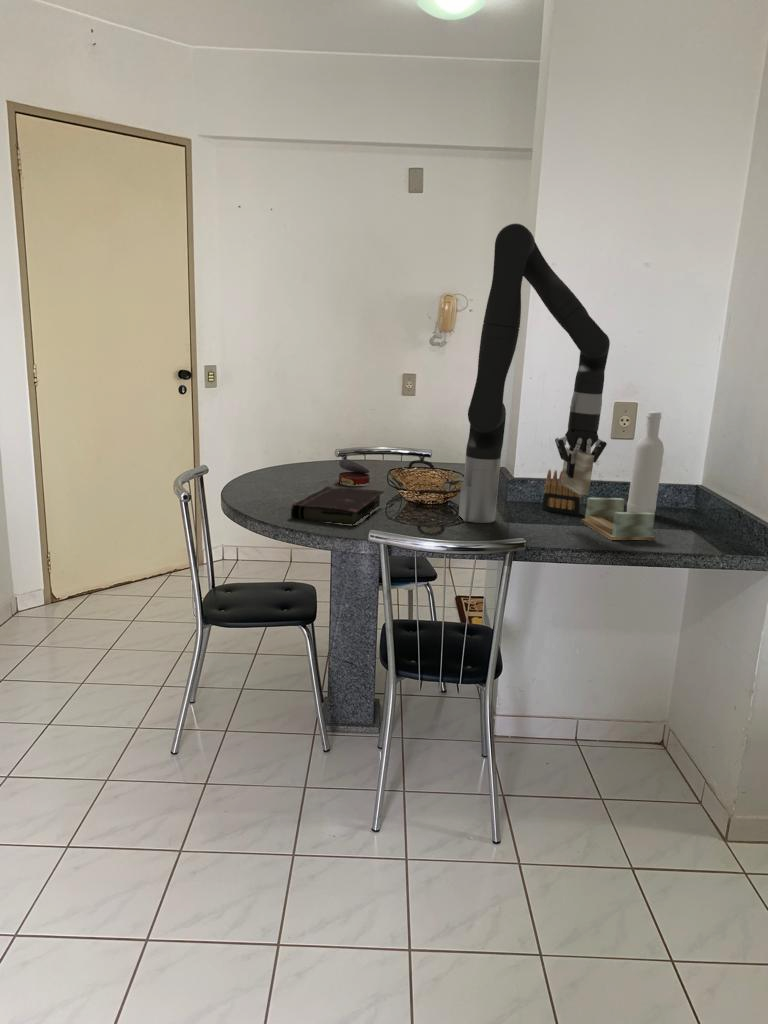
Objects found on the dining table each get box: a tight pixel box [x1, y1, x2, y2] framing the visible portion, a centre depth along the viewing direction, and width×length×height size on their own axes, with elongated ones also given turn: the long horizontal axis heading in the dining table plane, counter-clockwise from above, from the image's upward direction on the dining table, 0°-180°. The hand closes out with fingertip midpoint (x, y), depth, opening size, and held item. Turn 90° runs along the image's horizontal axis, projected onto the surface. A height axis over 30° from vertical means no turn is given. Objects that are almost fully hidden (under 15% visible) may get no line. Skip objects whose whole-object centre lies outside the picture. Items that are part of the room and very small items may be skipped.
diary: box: [290, 485, 385, 527], centre depth 203 cm, size 19×25×5 cm
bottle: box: [626, 410, 665, 515], centre depth 218 cm, size 8×8×30 cm
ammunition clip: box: [541, 468, 582, 516], centre depth 218 cm, size 11×2×12 cm, turn 67°
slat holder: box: [580, 497, 656, 541], centre depth 200 cm, size 12×18×7 cm, turn 10°
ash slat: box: [561, 446, 594, 496], centre depth 194 cm, size 2×12×10 cm, turn 10°
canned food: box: [338, 458, 371, 485], centre depth 241 cm, size 11×10×10 cm
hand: (575, 477), depth 195 cm, fingers closed on ash slat, 2 cm apart
